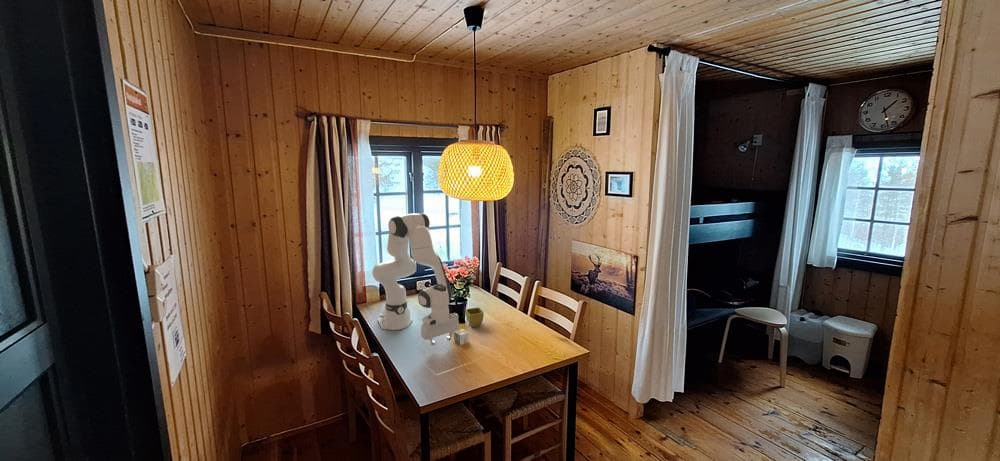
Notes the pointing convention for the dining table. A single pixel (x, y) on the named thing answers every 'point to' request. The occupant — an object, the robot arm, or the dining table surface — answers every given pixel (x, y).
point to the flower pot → (474, 316)
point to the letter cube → (461, 337)
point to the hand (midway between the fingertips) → (441, 342)
